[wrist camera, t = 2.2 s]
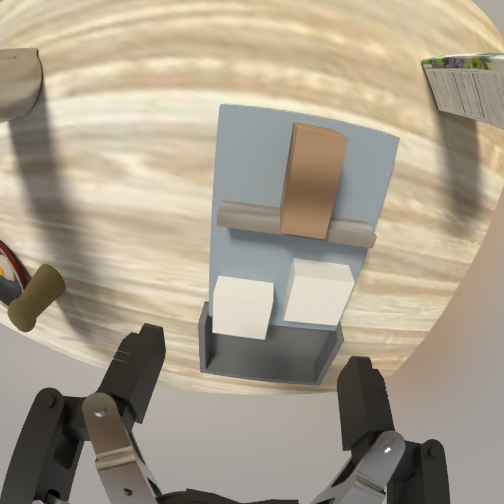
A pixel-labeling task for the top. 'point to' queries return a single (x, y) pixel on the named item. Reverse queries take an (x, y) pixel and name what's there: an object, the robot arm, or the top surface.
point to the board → (270, 192)
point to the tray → (269, 353)
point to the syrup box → (469, 85)
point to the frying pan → (9, 277)
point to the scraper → (304, 194)
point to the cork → (36, 297)
